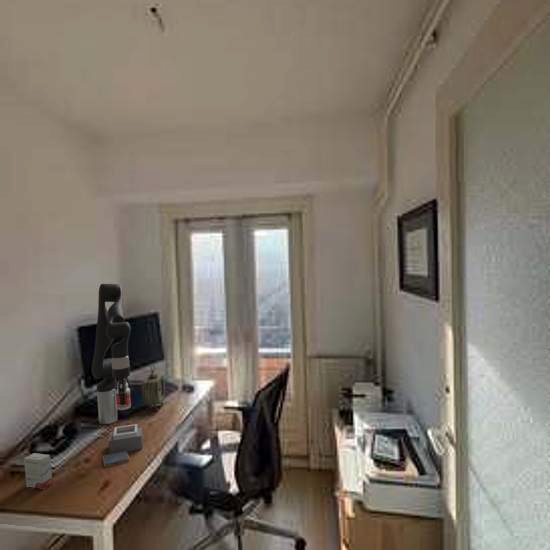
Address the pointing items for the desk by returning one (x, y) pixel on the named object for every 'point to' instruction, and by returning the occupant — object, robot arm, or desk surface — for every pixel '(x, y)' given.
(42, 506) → the desk surface
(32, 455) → the ink box
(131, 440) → the display riser
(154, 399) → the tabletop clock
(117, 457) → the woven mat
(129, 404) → the pill bottle
